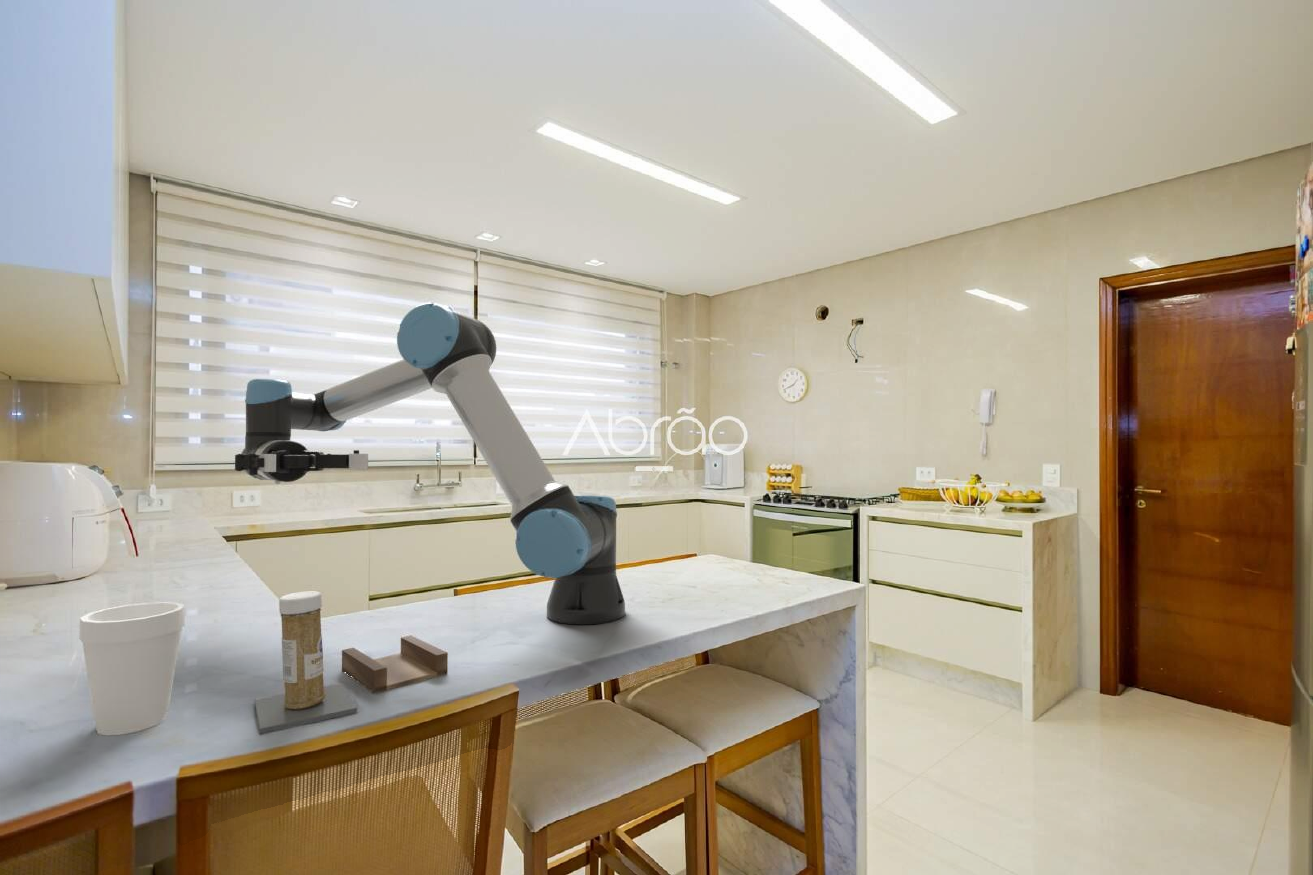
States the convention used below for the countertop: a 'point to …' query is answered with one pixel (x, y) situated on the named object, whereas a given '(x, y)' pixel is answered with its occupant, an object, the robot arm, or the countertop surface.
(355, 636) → the countertop surface
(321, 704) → the slate coaster
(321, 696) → the spice jar
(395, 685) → the walnut cradle
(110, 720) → the foam cup
